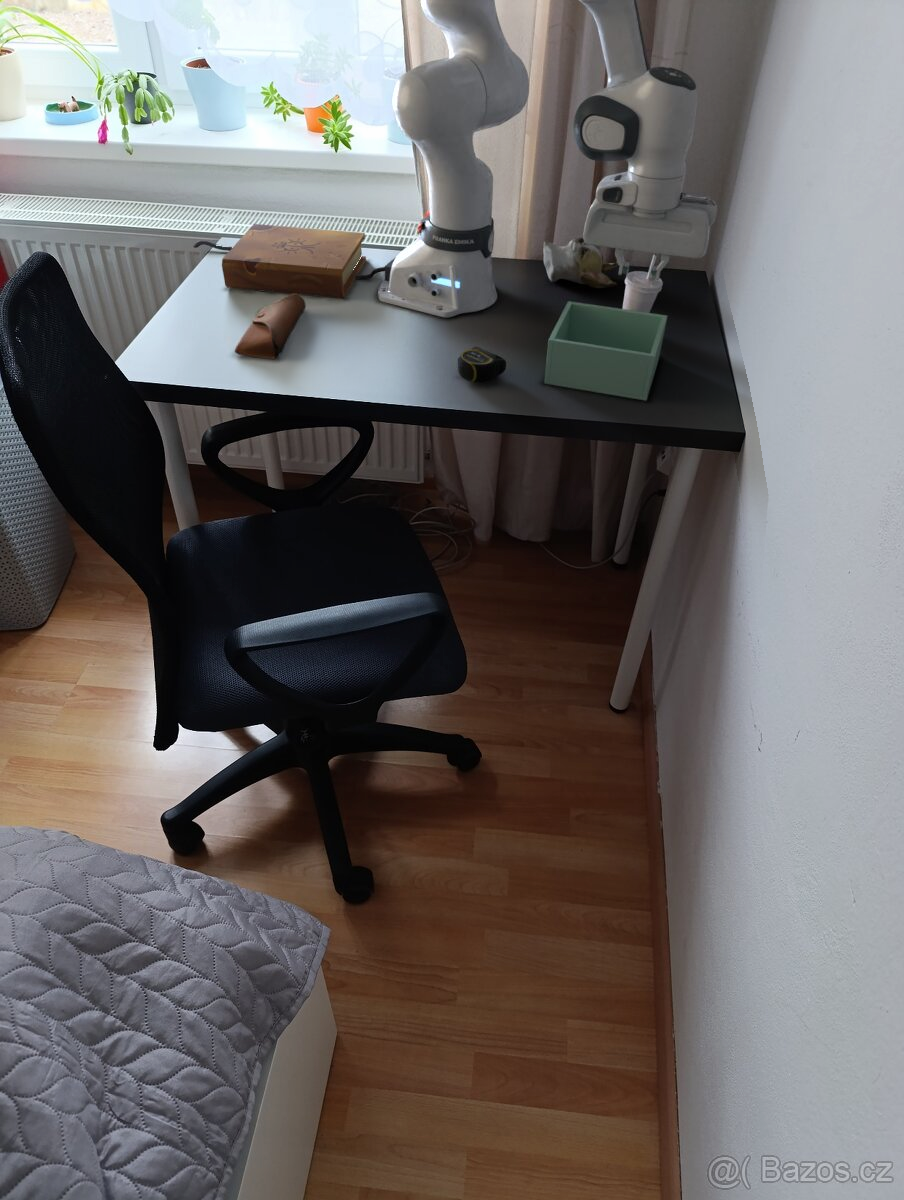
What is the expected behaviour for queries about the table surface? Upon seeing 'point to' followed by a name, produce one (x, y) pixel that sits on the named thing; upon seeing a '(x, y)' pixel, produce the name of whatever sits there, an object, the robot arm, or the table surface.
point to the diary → (294, 261)
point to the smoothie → (641, 290)
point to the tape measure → (480, 365)
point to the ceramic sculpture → (577, 264)
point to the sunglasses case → (271, 328)
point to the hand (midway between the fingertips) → (638, 276)
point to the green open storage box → (605, 350)
